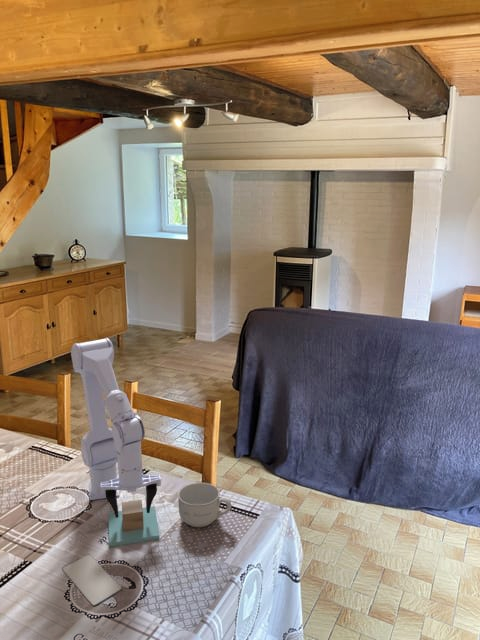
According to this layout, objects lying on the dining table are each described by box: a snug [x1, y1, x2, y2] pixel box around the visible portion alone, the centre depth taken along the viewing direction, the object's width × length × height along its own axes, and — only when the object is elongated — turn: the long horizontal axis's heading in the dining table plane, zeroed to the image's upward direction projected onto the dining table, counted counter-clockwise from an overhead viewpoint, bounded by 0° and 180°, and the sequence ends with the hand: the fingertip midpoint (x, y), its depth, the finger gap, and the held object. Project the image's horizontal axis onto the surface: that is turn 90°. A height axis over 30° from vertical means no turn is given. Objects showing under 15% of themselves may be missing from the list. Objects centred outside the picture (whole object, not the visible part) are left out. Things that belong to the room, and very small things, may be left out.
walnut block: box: [121, 499, 144, 532], centre depth 129 cm, size 5×5×5 cm
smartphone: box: [61, 553, 123, 607], centre depth 113 cm, size 7×1×15 cm
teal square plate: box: [108, 505, 161, 548], centre depth 130 cm, size 12×12×1 cm
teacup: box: [177, 482, 232, 528], centre depth 131 cm, size 14×11×8 cm
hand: (132, 512), depth 129 cm, fingers open, 7 cm apart
